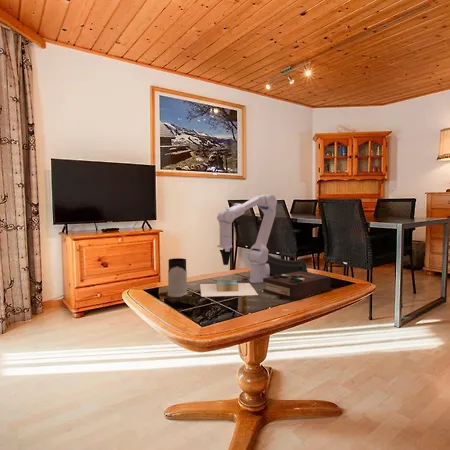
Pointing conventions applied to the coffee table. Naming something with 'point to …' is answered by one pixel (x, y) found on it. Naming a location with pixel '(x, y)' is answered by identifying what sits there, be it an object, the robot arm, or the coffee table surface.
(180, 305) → the coffee table surface
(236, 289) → the tile
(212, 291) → the mat
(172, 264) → the glass holder
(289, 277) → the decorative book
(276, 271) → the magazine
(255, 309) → the coffee table surface
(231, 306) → the coffee table surface
